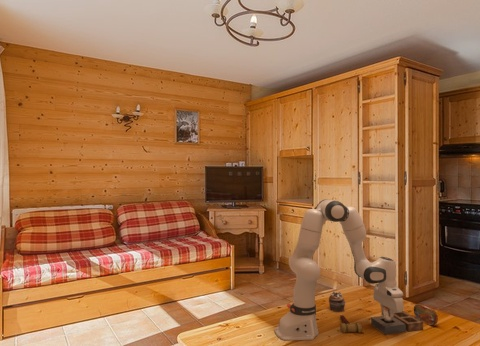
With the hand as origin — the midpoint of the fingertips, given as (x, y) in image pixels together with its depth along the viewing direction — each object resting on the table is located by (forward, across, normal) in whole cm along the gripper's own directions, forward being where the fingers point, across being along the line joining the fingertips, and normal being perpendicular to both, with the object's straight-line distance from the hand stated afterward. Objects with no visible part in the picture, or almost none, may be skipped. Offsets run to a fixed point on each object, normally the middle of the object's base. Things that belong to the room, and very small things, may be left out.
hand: (387, 314), depth 181 cm
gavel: (+8, -9, -19) cm, 22 cm away
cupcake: (+7, -30, -13) cm, 34 cm away
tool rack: (+7, -5, +12) cm, 15 cm away
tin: (+7, -2, +25) cm, 26 cm away
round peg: (+7, 0, 0) cm, 7 cm away
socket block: (+7, 0, 0) cm, 7 cm away
